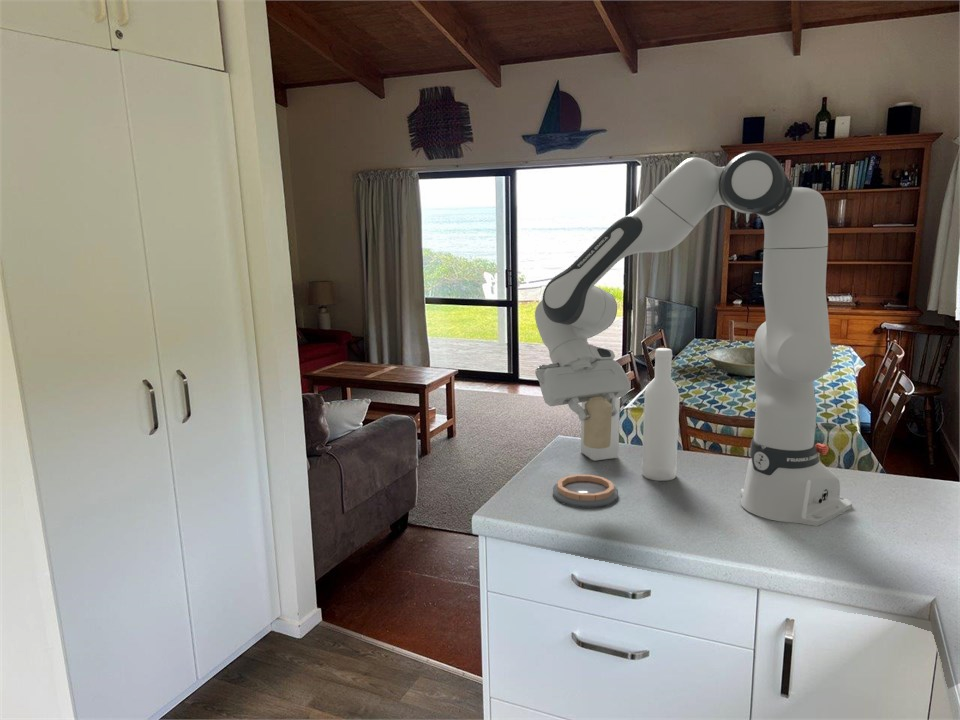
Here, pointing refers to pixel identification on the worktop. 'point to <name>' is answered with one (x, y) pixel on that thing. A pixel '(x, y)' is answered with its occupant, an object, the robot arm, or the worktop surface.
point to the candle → (598, 423)
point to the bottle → (661, 421)
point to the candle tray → (585, 491)
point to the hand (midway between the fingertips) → (599, 417)
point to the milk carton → (614, 443)
